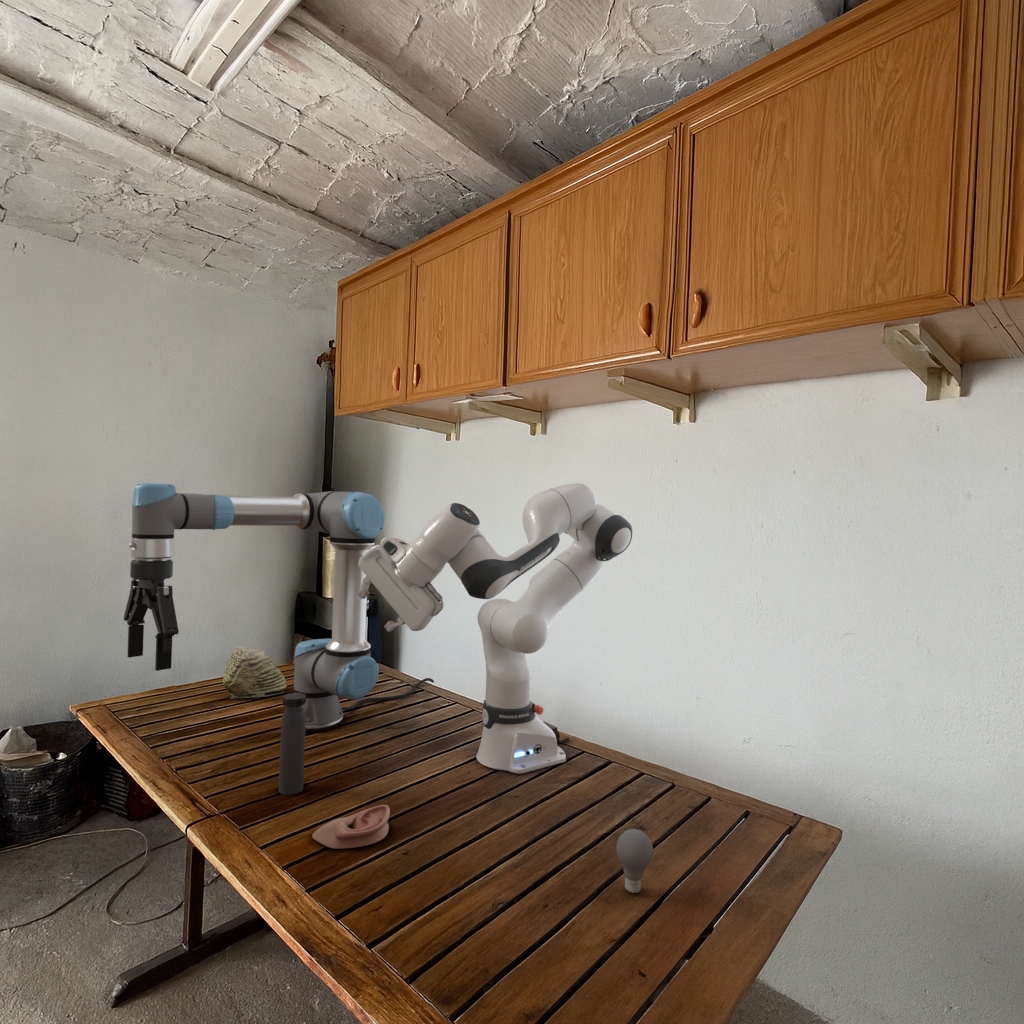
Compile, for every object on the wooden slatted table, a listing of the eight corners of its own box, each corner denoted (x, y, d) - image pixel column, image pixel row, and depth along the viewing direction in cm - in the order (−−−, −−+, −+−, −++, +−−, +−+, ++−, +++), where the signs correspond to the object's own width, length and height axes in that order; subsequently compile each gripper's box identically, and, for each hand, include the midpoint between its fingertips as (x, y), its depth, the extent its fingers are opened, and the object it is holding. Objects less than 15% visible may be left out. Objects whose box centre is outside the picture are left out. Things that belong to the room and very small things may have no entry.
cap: (302, 707, 134) (303, 699, 134) (280, 707, 134) (280, 699, 134) (307, 700, 139) (307, 692, 139) (285, 700, 138) (286, 692, 138)
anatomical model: (304, 822, 115) (334, 794, 126) (303, 844, 115) (333, 813, 126) (372, 833, 112) (397, 803, 124) (371, 855, 113) (396, 823, 124)
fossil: (218, 695, 195) (220, 647, 195) (278, 685, 208) (279, 640, 207) (228, 703, 189) (230, 653, 188) (289, 692, 201) (290, 645, 201)
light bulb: (610, 879, 108) (613, 822, 108) (644, 879, 109) (647, 822, 109) (619, 902, 102) (622, 840, 102) (655, 901, 103) (658, 840, 103)
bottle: (300, 794, 134) (303, 701, 134) (275, 794, 134) (279, 701, 133) (305, 784, 139) (308, 694, 139) (281, 784, 139) (285, 694, 138)
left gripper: (108, 554, 134) (104, 654, 134) (159, 565, 118) (155, 678, 119) (146, 552, 140) (143, 648, 140) (199, 563, 124) (195, 671, 124)
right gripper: (454, 602, 132) (410, 647, 134) (394, 533, 138) (354, 578, 140) (441, 604, 126) (396, 651, 128) (379, 532, 132) (337, 578, 134)
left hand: (148, 662), depth 129 cm, fingers open, 13 cm apart
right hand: (373, 612), depth 134 cm, fingers open, 8 cm apart
